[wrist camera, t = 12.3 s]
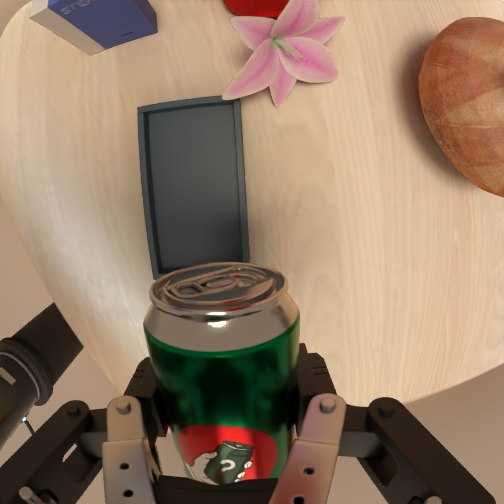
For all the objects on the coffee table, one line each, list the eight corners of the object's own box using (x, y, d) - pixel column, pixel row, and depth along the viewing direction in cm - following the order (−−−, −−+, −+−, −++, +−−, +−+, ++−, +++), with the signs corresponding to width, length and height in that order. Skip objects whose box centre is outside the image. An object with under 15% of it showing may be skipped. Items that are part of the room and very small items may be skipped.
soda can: (308, 493, 12) (335, 284, 9) (225, 539, 9) (168, 339, 6) (253, 442, 16) (243, 251, 13) (178, 475, 13) (122, 276, 10)
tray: (250, 268, 30) (250, 275, 28) (159, 272, 30) (153, 280, 28) (240, 99, 26) (239, 94, 24) (144, 110, 26) (137, 107, 24)
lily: (206, 112, 27) (241, 132, 20) (192, -1, 20) (224, -29, 12) (313, 97, 30) (373, 115, 23) (308, -2, 23) (371, -12, 15)
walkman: (156, 12, 23) (115, -49, 11) (157, 32, 23) (113, -27, 12) (89, 36, 23) (29, -6, 11) (89, 56, 24) (24, 18, 12)
